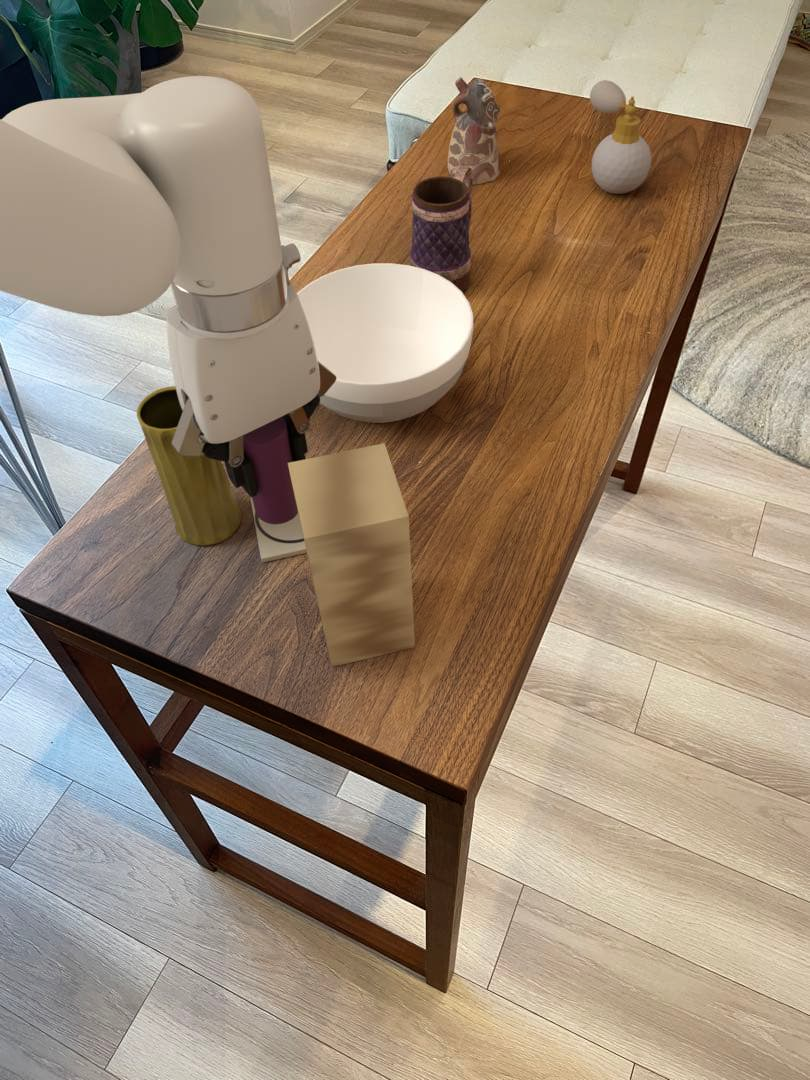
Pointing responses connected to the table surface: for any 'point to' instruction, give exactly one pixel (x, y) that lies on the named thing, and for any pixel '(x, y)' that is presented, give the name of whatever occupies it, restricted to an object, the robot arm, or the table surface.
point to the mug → (443, 225)
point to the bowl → (387, 338)
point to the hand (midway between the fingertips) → (270, 472)
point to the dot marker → (271, 472)
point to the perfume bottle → (619, 143)
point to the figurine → (475, 131)
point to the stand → (357, 551)
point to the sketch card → (279, 538)
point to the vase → (188, 475)
